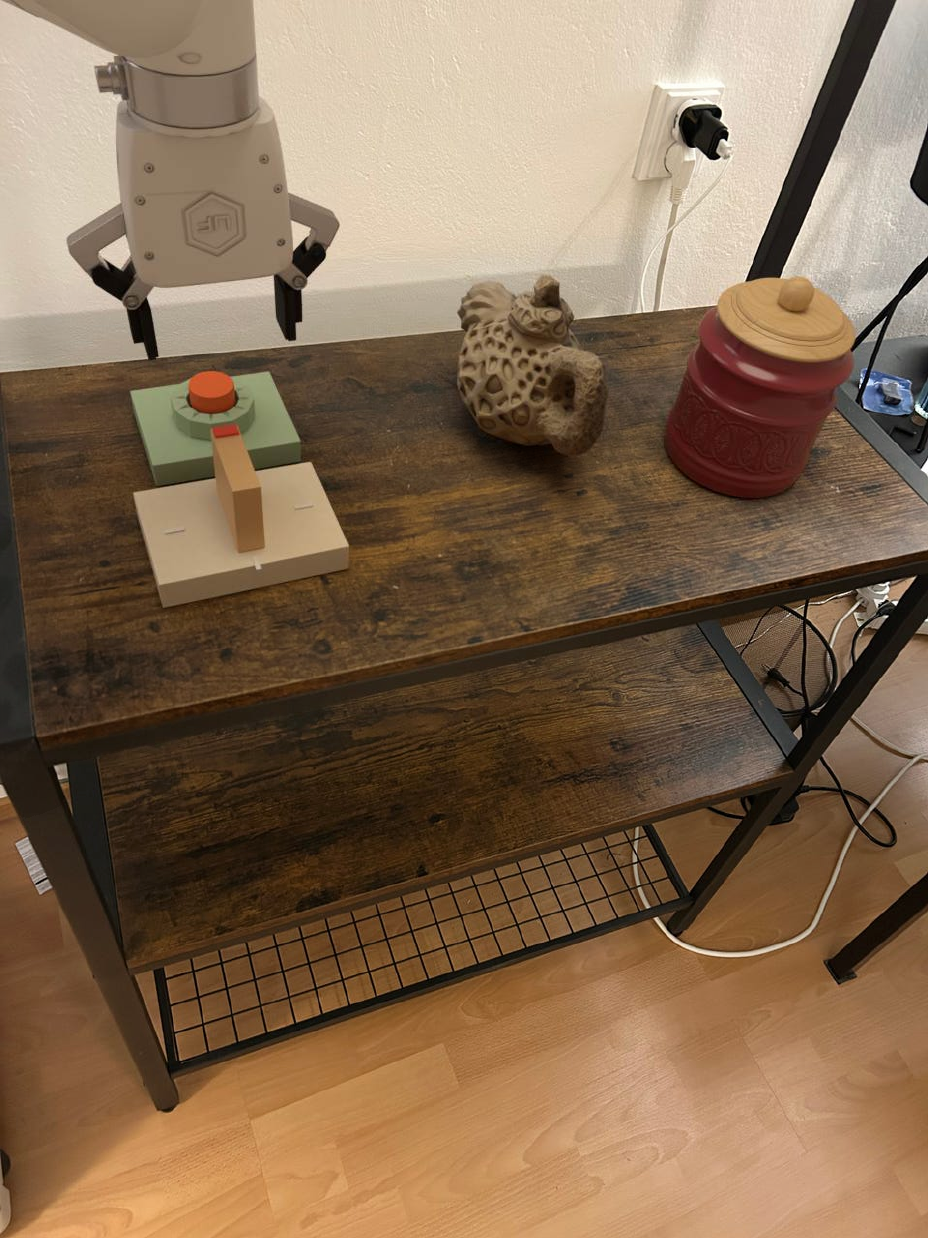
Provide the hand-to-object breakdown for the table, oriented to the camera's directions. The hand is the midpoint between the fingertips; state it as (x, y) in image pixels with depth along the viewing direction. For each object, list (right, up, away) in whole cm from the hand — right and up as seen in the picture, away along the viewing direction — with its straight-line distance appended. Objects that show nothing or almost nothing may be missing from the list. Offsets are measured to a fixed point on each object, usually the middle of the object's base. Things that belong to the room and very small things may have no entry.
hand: (219, 339), depth 69 cm
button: (-3, -2, +11) cm, 12 cm away
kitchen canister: (+42, -5, +21) cm, 47 cm away
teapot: (+22, -3, +19) cm, 30 cm away
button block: (-4, -4, +14) cm, 15 cm away
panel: (0, -14, +6) cm, 15 cm away
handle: (0, -12, +4) cm, 13 cm away
